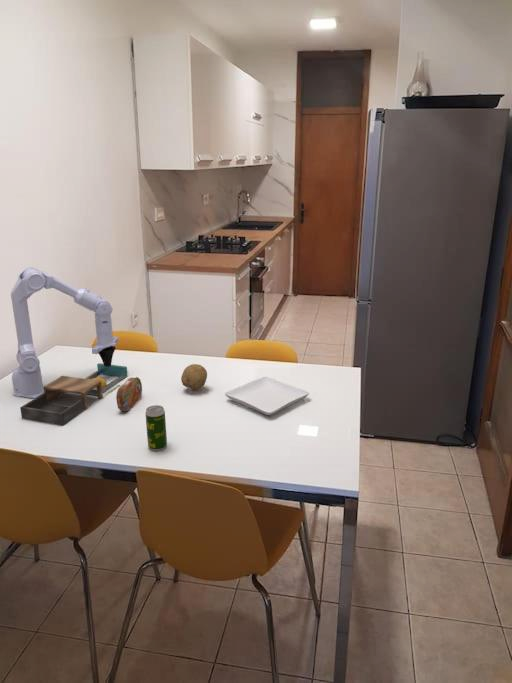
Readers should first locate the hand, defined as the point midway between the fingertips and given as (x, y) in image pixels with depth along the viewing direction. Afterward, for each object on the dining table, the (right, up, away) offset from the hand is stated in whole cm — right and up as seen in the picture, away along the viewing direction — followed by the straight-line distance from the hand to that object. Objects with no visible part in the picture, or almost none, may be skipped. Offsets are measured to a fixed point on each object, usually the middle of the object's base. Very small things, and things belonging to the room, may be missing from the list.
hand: (107, 365), depth 200 cm
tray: (-7, -11, -18) cm, 22 cm away
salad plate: (+60, -12, -18) cm, 63 cm away
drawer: (-2, -6, -4) cm, 8 cm away
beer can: (+27, -21, -47) cm, 58 cm away
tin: (+13, -12, -21) cm, 28 cm away
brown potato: (+34, -9, -10) cm, 36 cm away
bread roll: (-3, -8, -7) cm, 11 cm away
